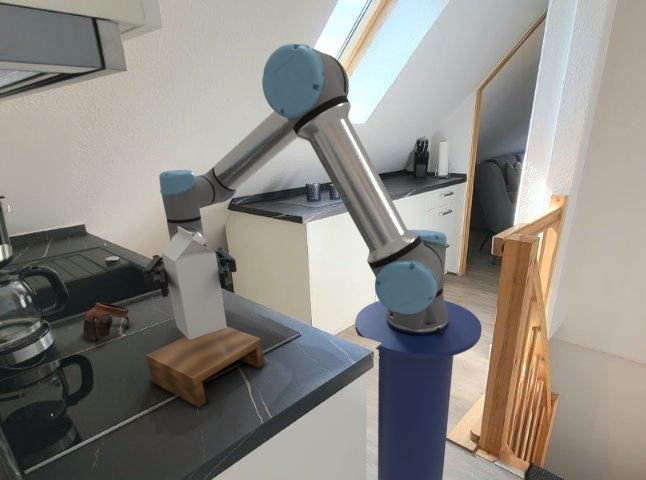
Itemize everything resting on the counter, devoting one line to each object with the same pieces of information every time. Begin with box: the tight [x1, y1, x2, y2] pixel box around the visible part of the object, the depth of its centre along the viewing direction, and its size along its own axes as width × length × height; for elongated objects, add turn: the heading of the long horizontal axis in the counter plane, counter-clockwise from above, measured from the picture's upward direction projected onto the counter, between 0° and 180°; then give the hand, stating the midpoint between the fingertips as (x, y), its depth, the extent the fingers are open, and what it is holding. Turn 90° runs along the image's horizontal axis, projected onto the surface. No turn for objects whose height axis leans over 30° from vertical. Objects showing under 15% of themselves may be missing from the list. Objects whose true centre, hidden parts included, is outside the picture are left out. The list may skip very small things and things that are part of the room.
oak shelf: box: [145, 326, 265, 408], centre depth 79 cm, size 14×16×6 cm
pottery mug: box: [82, 302, 131, 341], centre depth 96 cm, size 12×10×8 cm
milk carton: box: [161, 226, 228, 340], centre depth 73 cm, size 7×7×19 cm
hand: (193, 284), depth 69 cm, fingers closed on milk carton, 9 cm apart
